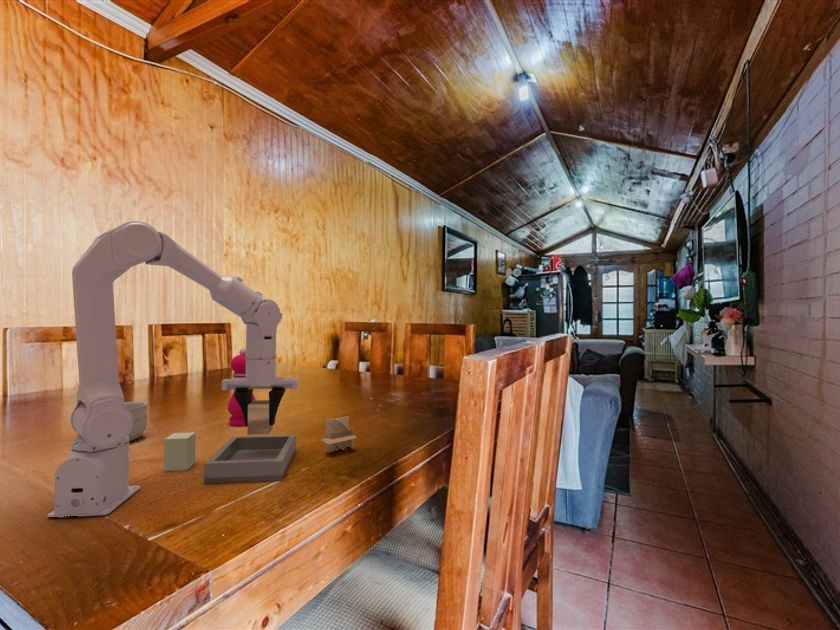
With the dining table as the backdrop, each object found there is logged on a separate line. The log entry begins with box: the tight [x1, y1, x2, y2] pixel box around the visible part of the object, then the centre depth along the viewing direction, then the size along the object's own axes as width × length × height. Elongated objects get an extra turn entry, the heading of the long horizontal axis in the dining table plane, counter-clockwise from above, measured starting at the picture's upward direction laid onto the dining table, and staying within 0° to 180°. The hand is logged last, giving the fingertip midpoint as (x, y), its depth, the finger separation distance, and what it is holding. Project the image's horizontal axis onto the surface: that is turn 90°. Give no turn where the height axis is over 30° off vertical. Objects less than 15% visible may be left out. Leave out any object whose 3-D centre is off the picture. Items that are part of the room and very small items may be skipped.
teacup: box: [124, 400, 148, 442], centre depth 97 cm, size 14×11×8 cm
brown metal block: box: [247, 399, 274, 436], centre depth 85 cm, size 4×4×6 cm
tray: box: [203, 434, 297, 485], centre depth 81 cm, size 16×13×4 cm
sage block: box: [163, 431, 197, 472], centre depth 80 cm, size 4×4×6 cm
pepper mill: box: [227, 348, 257, 427], centre depth 111 cm, size 7×7×20 cm
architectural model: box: [321, 416, 357, 453], centre depth 89 cm, size 3×7×8 cm, turn 131°
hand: (260, 424), depth 85 cm, fingers closed on brown metal block, 4 cm apart
